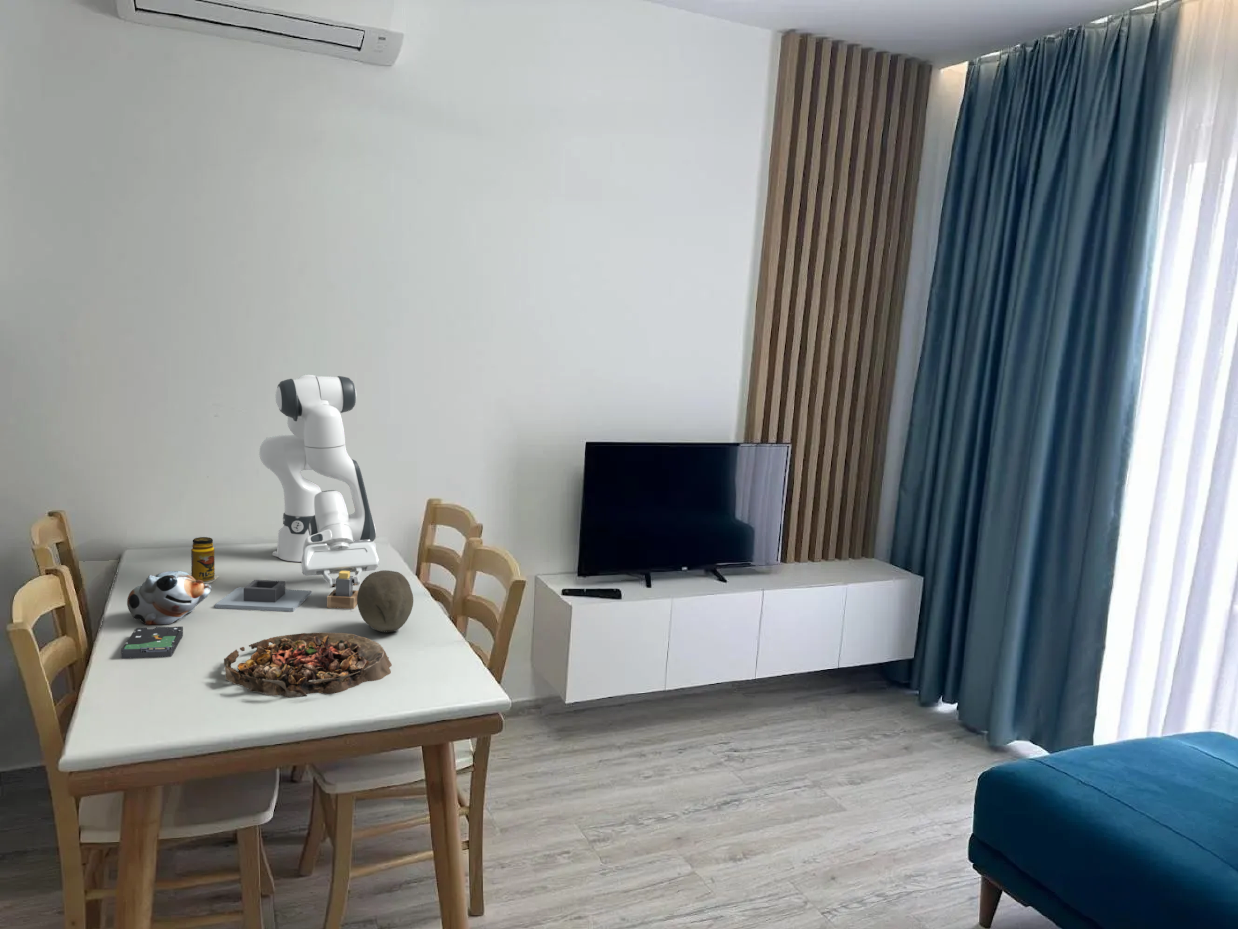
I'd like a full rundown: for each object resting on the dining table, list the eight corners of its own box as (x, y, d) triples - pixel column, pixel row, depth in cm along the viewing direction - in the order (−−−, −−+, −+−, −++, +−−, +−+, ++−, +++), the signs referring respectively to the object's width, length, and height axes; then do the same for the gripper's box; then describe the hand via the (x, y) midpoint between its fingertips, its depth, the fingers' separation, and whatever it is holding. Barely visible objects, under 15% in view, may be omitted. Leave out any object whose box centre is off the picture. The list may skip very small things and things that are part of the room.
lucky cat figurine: (193, 604, 243) (215, 558, 238) (196, 639, 233) (218, 592, 228) (123, 593, 233) (144, 545, 228) (123, 629, 223) (145, 579, 218)
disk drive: (135, 639, 218) (120, 661, 204) (134, 627, 218) (120, 648, 204) (183, 637, 221) (172, 658, 207) (183, 625, 221) (172, 646, 207)
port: (238, 590, 257) (238, 574, 257) (311, 594, 258) (311, 578, 258) (215, 608, 242) (215, 591, 241) (293, 611, 242) (293, 594, 242)
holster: (334, 600, 254) (334, 589, 254) (360, 601, 254) (360, 590, 254) (327, 607, 247) (327, 596, 247) (353, 609, 247) (353, 598, 247)
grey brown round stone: (425, 629, 235) (427, 571, 232) (382, 643, 223) (384, 583, 221) (386, 617, 242) (387, 561, 240) (343, 630, 231) (343, 571, 228)
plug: (339, 600, 253) (339, 569, 251) (352, 600, 253) (352, 570, 251) (335, 604, 249) (335, 573, 248) (349, 605, 249) (349, 574, 248)
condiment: (211, 583, 263) (211, 542, 261) (180, 582, 262) (179, 541, 260) (219, 576, 270) (219, 536, 268) (188, 575, 269) (188, 535, 267)
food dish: (215, 711, 184) (213, 673, 183) (233, 654, 216) (232, 622, 214) (397, 695, 194) (397, 659, 193) (389, 643, 225) (389, 612, 224)
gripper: (371, 544, 264) (380, 587, 257) (296, 550, 254) (304, 594, 247) (376, 533, 259) (385, 576, 252) (300, 537, 249) (307, 583, 242)
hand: (344, 585), depth 250 cm, fingers closed on plug, 5 cm apart
